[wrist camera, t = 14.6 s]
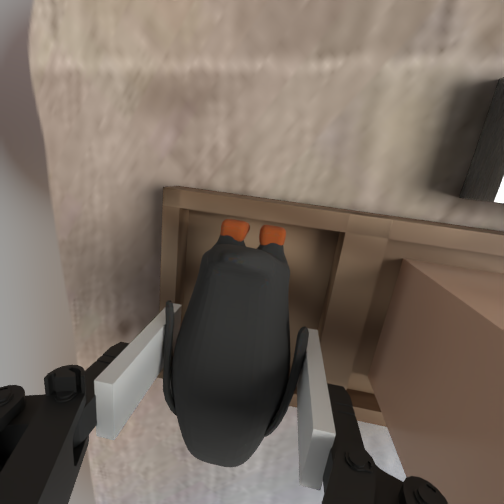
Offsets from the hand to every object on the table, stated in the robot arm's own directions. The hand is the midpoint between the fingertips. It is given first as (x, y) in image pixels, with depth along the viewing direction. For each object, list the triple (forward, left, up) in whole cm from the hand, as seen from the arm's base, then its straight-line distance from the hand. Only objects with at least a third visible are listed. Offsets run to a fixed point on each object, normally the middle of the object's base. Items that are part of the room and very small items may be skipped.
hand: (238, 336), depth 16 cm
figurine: (+1, 0, -2) cm, 2 cm away
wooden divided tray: (0, +7, -6) cm, 9 cm away
